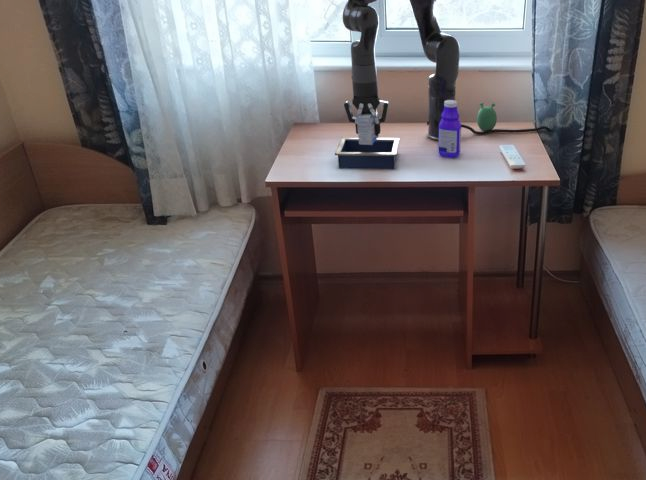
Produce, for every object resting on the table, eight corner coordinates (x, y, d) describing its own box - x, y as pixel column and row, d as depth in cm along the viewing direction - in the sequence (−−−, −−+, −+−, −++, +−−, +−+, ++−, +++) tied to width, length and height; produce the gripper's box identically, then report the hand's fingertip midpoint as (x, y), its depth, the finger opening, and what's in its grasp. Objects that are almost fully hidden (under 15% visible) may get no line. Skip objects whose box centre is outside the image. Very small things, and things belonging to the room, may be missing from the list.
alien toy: (495, 127, 243) (496, 99, 237) (496, 134, 237) (498, 105, 231) (475, 127, 243) (476, 99, 237) (477, 134, 237) (478, 105, 231)
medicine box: (372, 145, 208) (370, 117, 202) (358, 144, 208) (356, 116, 203) (378, 137, 214) (377, 109, 209) (365, 136, 215) (363, 108, 209)
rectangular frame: (399, 153, 221) (399, 138, 218) (396, 170, 209) (395, 154, 206) (342, 152, 221) (341, 137, 218) (336, 169, 209) (334, 153, 206)
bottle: (462, 154, 220) (464, 100, 210) (457, 159, 216) (458, 105, 206) (441, 151, 222) (442, 97, 212) (436, 157, 218) (436, 102, 208)
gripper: (389, 75, 203) (392, 131, 213) (342, 75, 203) (347, 131, 213) (387, 82, 197) (390, 139, 207) (339, 82, 197) (344, 139, 207)
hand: (368, 134), depth 210 cm, fingers closed on medicine box, 5 cm apart
